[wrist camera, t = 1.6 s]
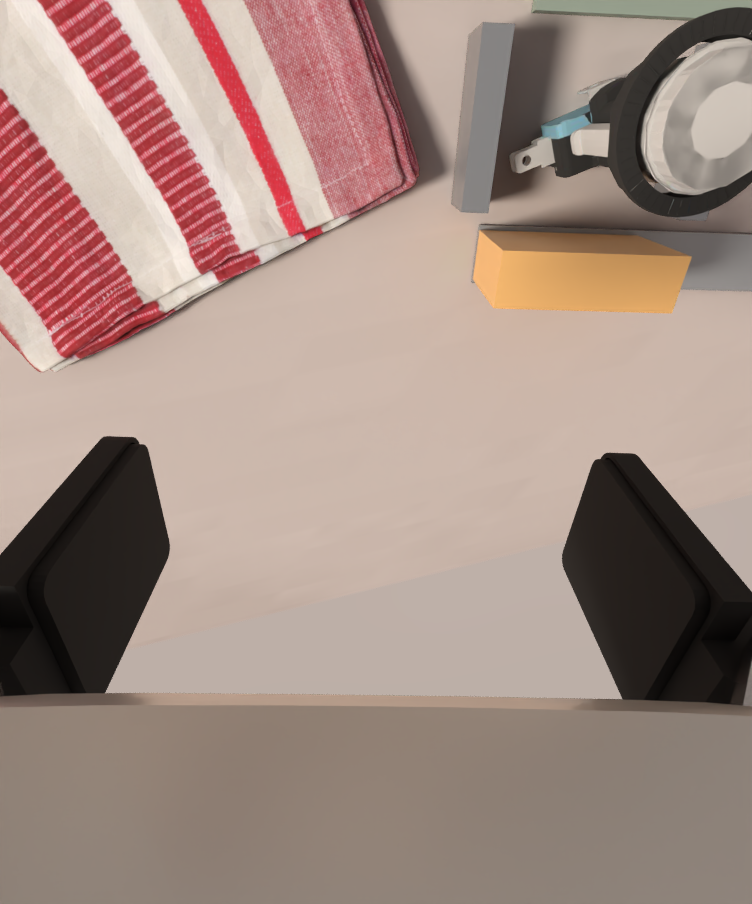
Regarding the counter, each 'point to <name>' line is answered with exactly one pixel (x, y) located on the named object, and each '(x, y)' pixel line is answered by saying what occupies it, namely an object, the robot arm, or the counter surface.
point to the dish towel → (177, 153)
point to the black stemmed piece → (666, 121)
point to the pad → (637, 8)
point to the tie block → (578, 272)
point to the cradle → (713, 254)
